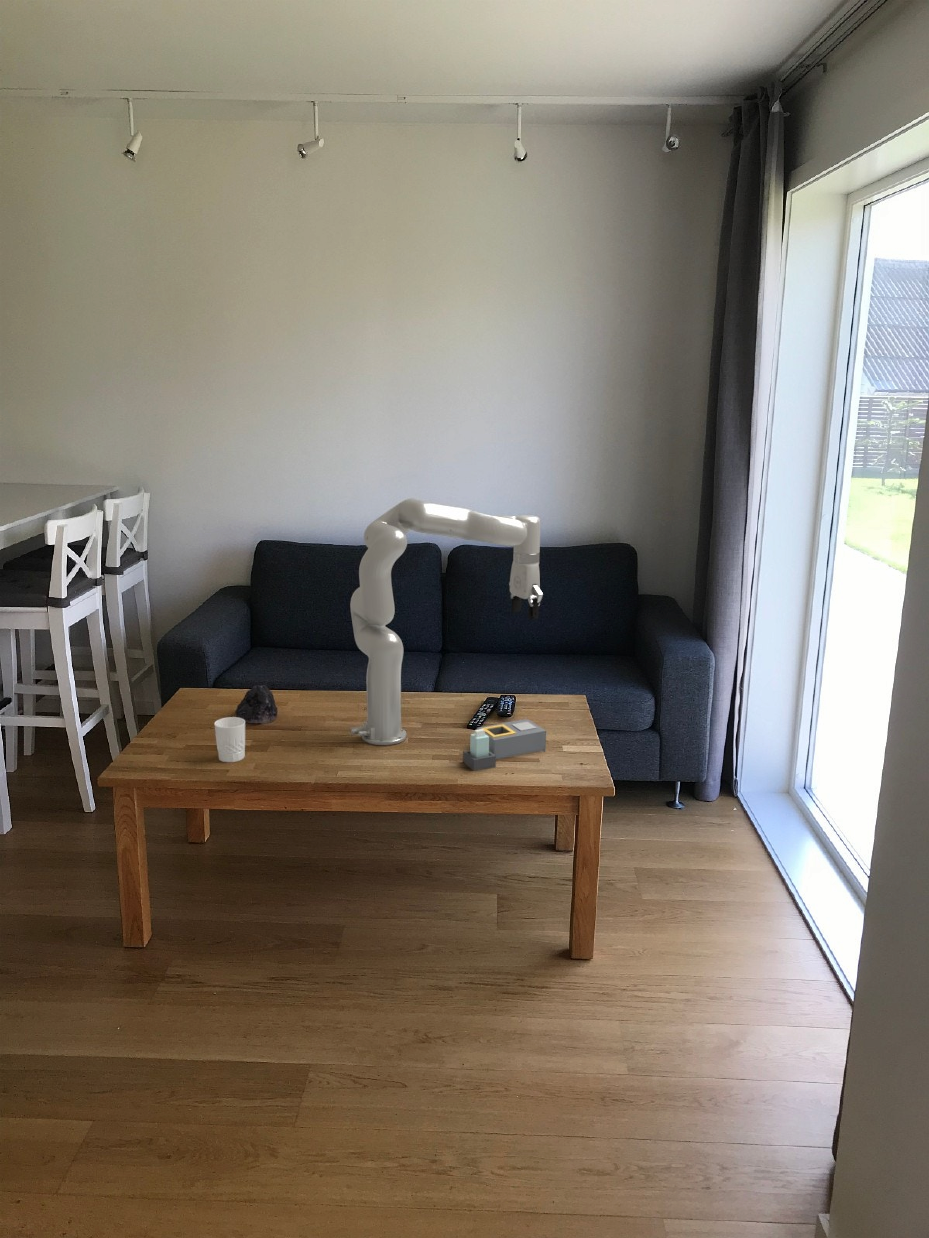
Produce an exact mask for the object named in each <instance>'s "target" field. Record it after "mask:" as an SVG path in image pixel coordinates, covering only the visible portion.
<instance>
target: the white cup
mask: <svg viewBox="0 0 929 1238" xmlns="http://www.w3.org/2000/svg"><path fill="white" fill-rule="evenodd" d="M213 725H214V733H215V741H216V748H217V755H218V760H219V761H221V762H222V763H223V762H224V763H234V762H235V763H236V762H240V761H242V760H244V759H245V756H246V754H245V753H246V751H245V749H246V722H245V720H244V719H242V718H238V717H236V716H232V717H231V716H228V717H222V718H219V719H217V720H216V721H214V723H213Z"/></svg>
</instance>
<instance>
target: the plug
mask: <svg viewBox="0 0 929 1238" xmlns="http://www.w3.org/2000/svg"><path fill="white" fill-rule="evenodd" d="M469 739H470V740H469V741H470V743H469V746H470V747H469V750H470V755H471V756H473V757H474V758H475V759H476V758H481V757H486V756H489V736H487V735H486V734H485V730H484V729H479V730H477V729H475V730H474V733H471V734H470V738H469Z"/></svg>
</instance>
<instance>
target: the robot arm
mask: <svg viewBox="0 0 929 1238" xmlns="http://www.w3.org/2000/svg"><path fill="white" fill-rule="evenodd" d="M410 531H414V532H417V533H421V534H427V535H433V536H434V535H435V536H436V535H437V536H440V537H441V536H442V537H447V538H455V539H461V540H466V541H475V542H482V543H488V544H493V545H501V546H506V547H513V560H512V564H511V569H510V578H509V582H508V585H509V593H510V599H511V600H510V601H511V605H510V606H511V607H510V608H511V609H510V611H511V613H518V612H522V603H523V602H522V599H523V600H527V601H528V604H529V606H528V611H527V614H528V616H527V619H528V620H529V621H531V620H538V619H539V616H540V614H539V611H540V610H539V609H540V605H541V602H542V599H543V595H544V594H543V592H542V590H541V588H540V587H541V586H540V585H541V583H540V577H541V576H540V575H541V574H540V566H539V565H540V553H541V552H540V549H541V548H540V547H541V519H540V517H538V516H536V515H532V514H530V515H529V514H523V515H522V514H521V515H517V516H513V515H491V514H490V515H489V514H485V513H482V512H479V511H475V510H473V509H469V508H465V507H462V506H461V507H460V506H453V505H447V504H441V503H434V502H429V501H423V500H420V499H417V498H407V499H404V500H402V501H400V502H399V503H398V504H396V505H394V506H393V507H392V508H390V509H389V510H387V511H385V512H384V514H382V515H380V516H379V517H377V518H376V519H374V521H372V522H370V523H369V524H368V526H367V527H366V528H365V530H364V533H363V541H364V544H365V546H366V548H367V550H366V551H365V553H364V555H363V556H362V558H361V561H360V564H359V569H358V577H359V578H358V579H359V587H358V588H356V589H355V591H353V593H352V596H351V598H350V602H349V603H350V604H349V605H350V614H351V615H350V617H351V621H352V629H353V635H354V641H355V644H356V646H357V648H358V649H359V650H360V651H361V653H363V654H365V656H367V657H368V663H367V668H366V676H365V677H366V679H365V680H366V720H365V721H363V724H361V725H360V726H355V727H354V726H353V727H350V734H351V735H352V736H353V735H354V736H355V735H358V737H361V739H362V740H363V741H364V742H366V743H367V744H369V745H375V746H391V745H396V744H399V743H402V742H404V741H405V740H406V739H407V735H408V734H407V731H406V730H405V729H403V728H402V684H401V683H402V678H401V677H402V663H403V658H404V645H403V642H402V639H401V638H400V636H399V635H398V634H397V633H396V632H395V631H394V630H392V629H390V628H388V627H387V626H386V625H388V624H390V623H391V622H392V620H393V619H394V617H395V616H394V615H395V612H396V611H395V609H396V608H395V601H394V593H393V586H392V585H393V584H392V569H393V566H394V565H395V562H396V561H397V560H398V559H399V558H400V557H401V556H402V555H403V554H404V552H405V550H406V549H407V546H408V538H407V535H406V534H407V533H408V532H410Z"/></svg>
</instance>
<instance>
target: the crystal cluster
mask: <svg viewBox="0 0 929 1238" xmlns="http://www.w3.org/2000/svg"><path fill="white" fill-rule="evenodd" d="M275 700H276V699H275V696H274V693H272V690H270V689H269V688H268V686H267V685H265V684H255V685H253V687H252V688H251V689H248V690H247V692H246V693H245V694H244V697H243V699H242V700H241V701H240V703H239V704H238V705H237V706H236V709H235V712H234V713H235V717H238V718H242V719H244V720H245V723H249V724H267V723H272V722H273V721H274V720H275V719H276V718H277V717H278V707H277V706H276V701H275Z"/></svg>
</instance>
